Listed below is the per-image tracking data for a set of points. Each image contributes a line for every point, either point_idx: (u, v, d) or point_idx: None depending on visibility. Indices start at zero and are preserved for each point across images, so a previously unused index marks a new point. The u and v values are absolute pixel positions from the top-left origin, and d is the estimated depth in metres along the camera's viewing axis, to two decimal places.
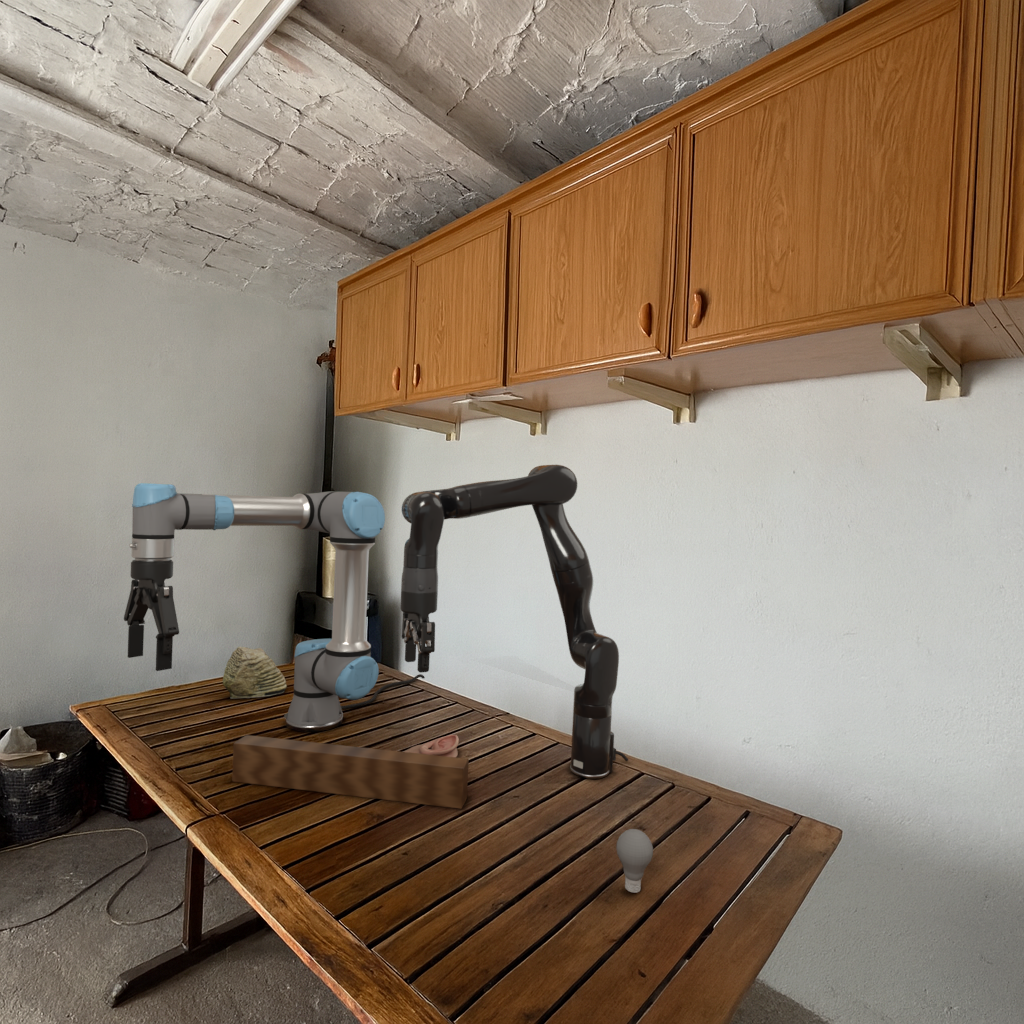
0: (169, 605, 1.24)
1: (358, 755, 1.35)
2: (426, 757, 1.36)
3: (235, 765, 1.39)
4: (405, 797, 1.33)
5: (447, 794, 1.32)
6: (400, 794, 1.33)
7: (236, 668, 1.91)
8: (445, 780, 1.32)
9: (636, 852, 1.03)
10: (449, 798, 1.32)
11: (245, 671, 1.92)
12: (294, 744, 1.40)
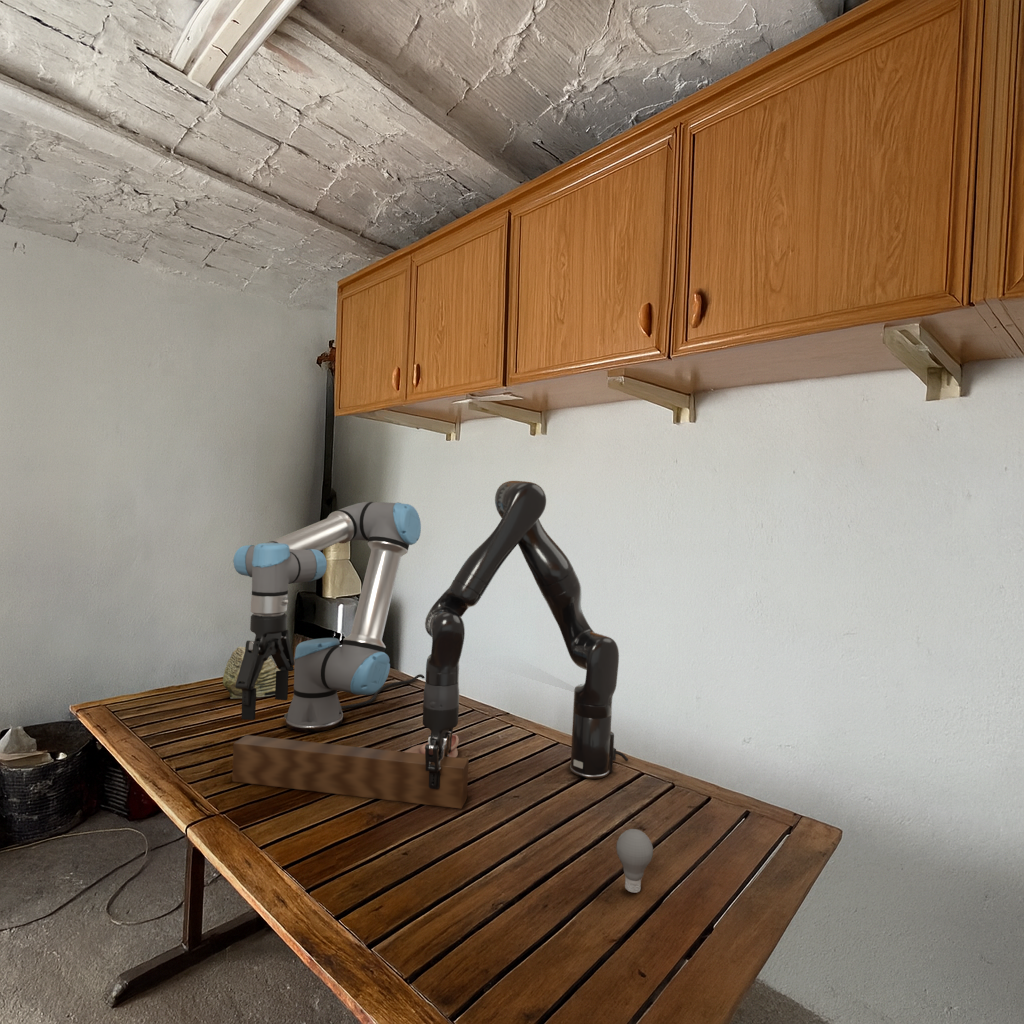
0: None
1: (358, 755, 1.35)
2: None
3: (235, 765, 1.39)
4: (405, 797, 1.33)
5: (447, 794, 1.32)
6: (400, 794, 1.33)
7: (236, 668, 1.91)
8: (445, 780, 1.32)
9: (636, 852, 1.03)
10: (449, 798, 1.32)
11: None
12: (294, 744, 1.40)
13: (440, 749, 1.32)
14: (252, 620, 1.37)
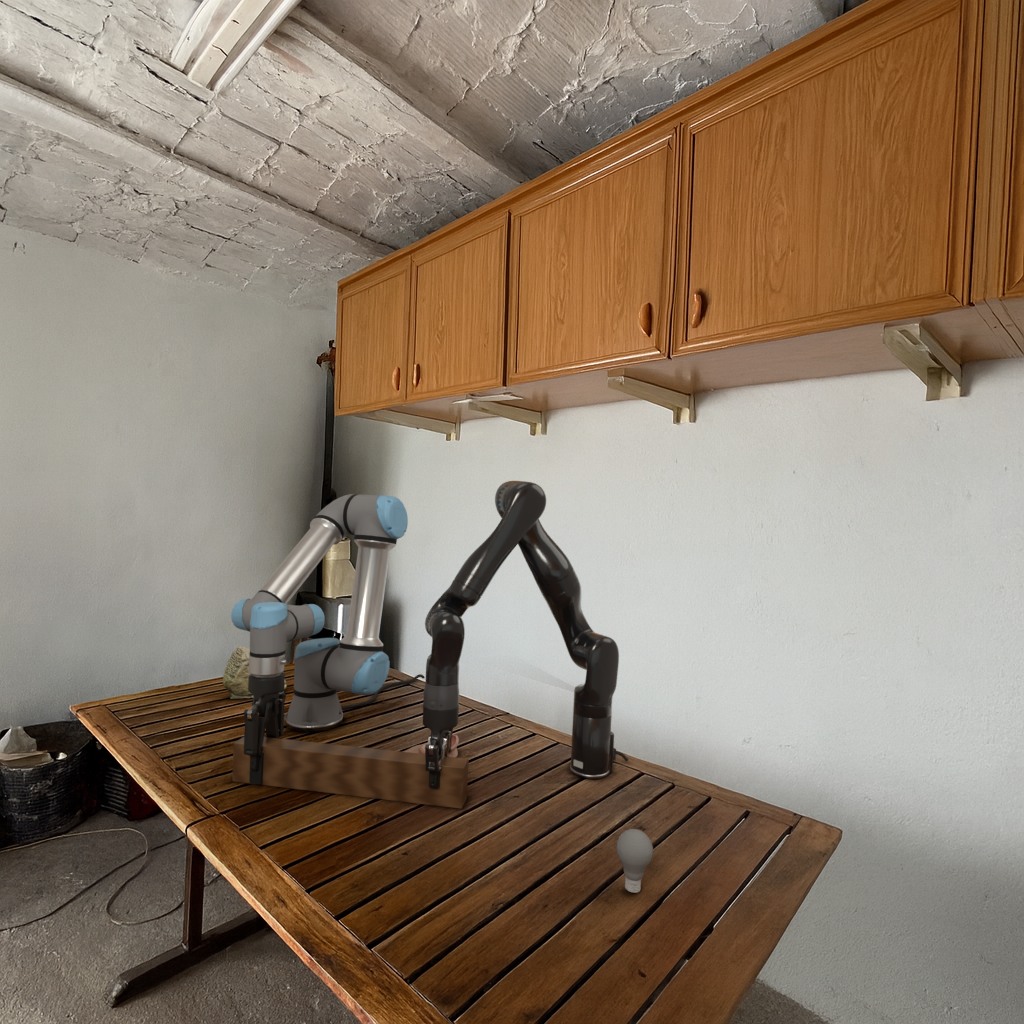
0: None
1: (358, 755, 1.35)
2: None
3: (235, 765, 1.39)
4: (405, 797, 1.33)
5: (447, 794, 1.32)
6: (400, 794, 1.33)
7: (236, 668, 1.91)
8: (445, 780, 1.32)
9: (636, 852, 1.03)
10: (449, 798, 1.32)
11: (245, 671, 1.92)
12: (294, 744, 1.40)
13: (440, 749, 1.32)
14: (250, 681, 1.37)
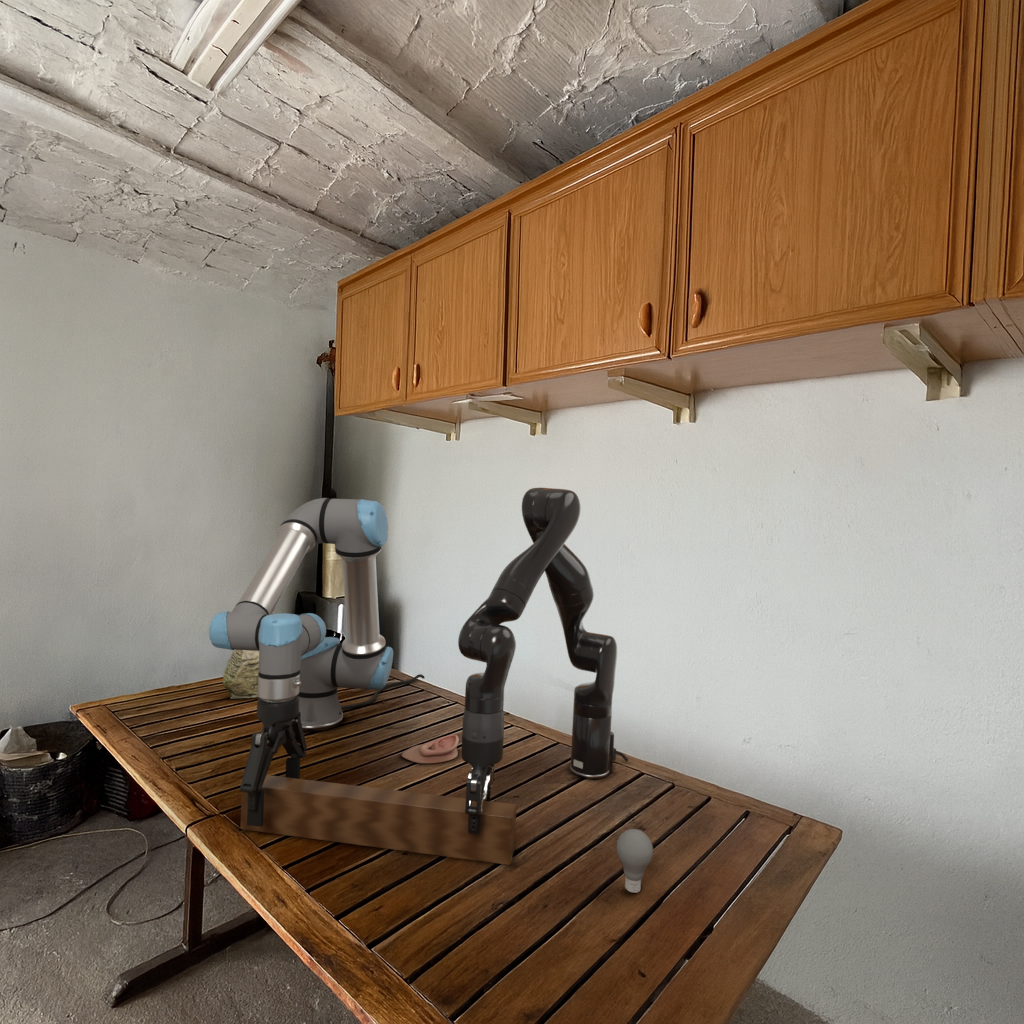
0: None
1: (388, 800, 1.16)
2: None
3: (244, 810, 1.19)
4: (443, 850, 1.14)
5: (493, 848, 1.12)
6: (437, 847, 1.14)
7: (236, 668, 1.91)
8: (490, 831, 1.12)
9: (636, 852, 1.03)
10: (495, 853, 1.12)
11: (245, 671, 1.92)
12: (313, 786, 1.20)
13: (483, 788, 1.12)
14: (259, 707, 1.18)
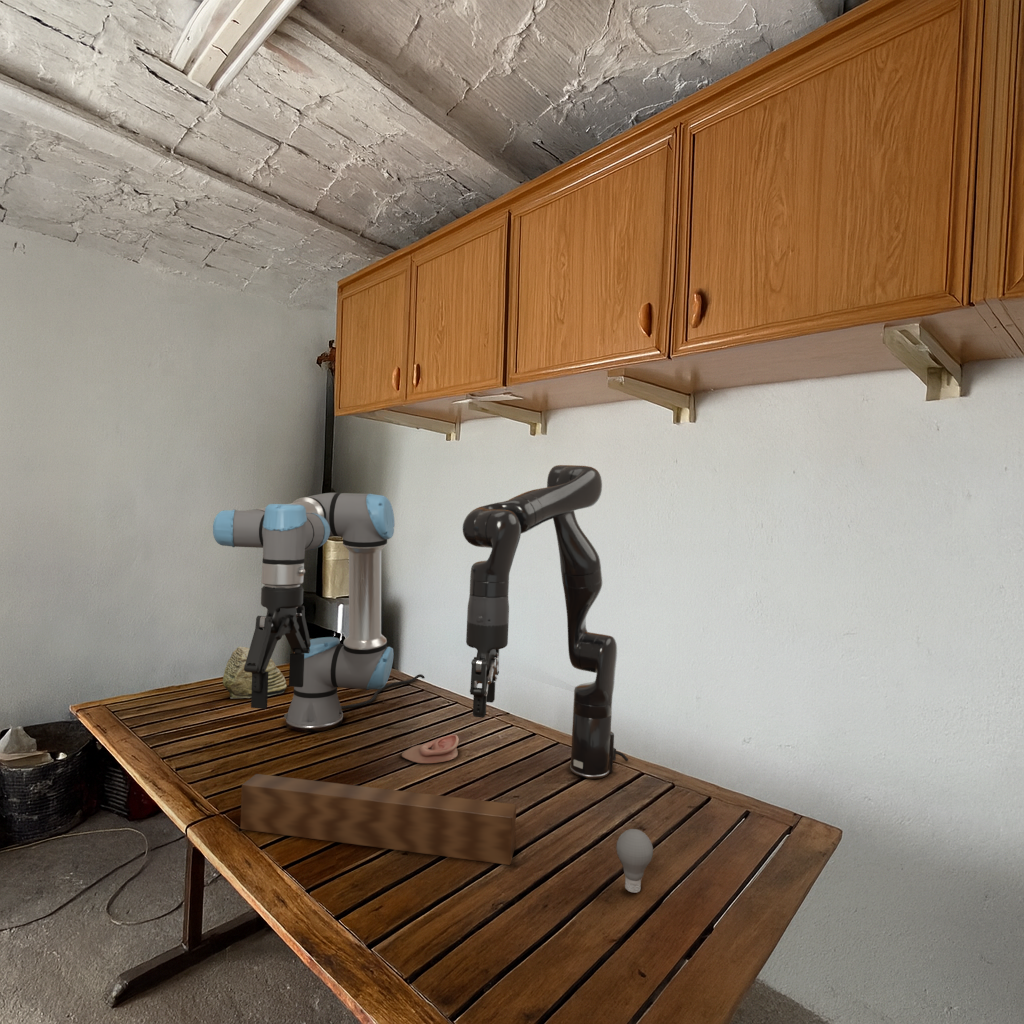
0: None
1: (388, 800, 1.16)
2: (467, 803, 1.16)
3: (244, 810, 1.19)
4: (443, 850, 1.14)
5: (493, 848, 1.12)
6: (437, 847, 1.14)
7: (236, 668, 1.91)
8: (490, 831, 1.12)
9: (636, 852, 1.03)
10: (495, 853, 1.12)
11: (245, 671, 1.92)
12: (313, 786, 1.20)
13: (488, 672, 1.12)
14: (263, 592, 1.17)
